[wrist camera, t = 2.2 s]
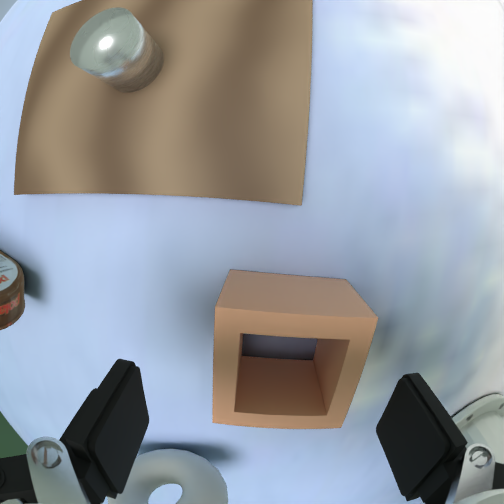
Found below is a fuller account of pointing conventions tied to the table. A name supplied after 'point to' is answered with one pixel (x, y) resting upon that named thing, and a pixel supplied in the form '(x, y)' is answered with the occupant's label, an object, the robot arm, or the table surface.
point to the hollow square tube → (288, 370)
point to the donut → (173, 478)
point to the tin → (10, 291)
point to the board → (176, 106)
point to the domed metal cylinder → (117, 50)
